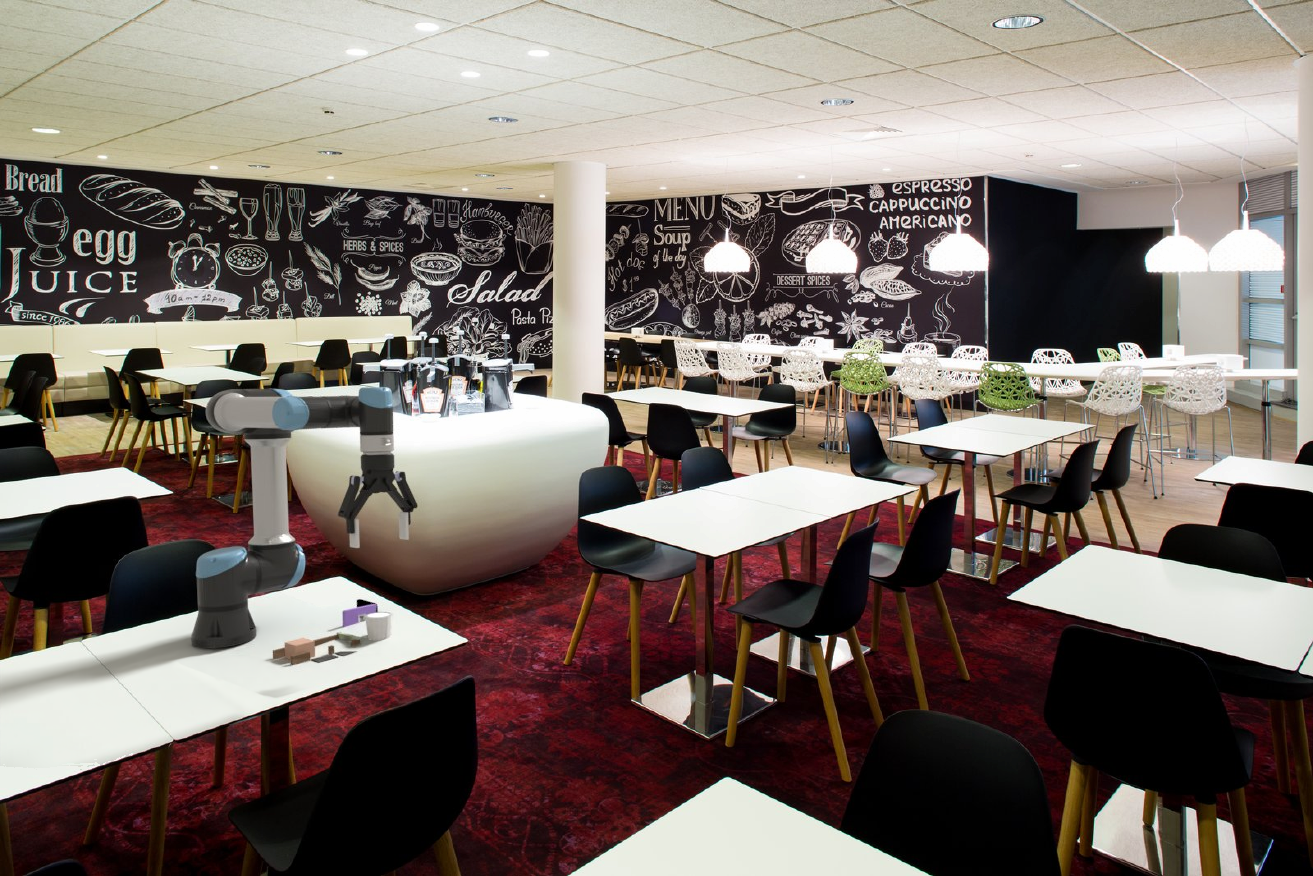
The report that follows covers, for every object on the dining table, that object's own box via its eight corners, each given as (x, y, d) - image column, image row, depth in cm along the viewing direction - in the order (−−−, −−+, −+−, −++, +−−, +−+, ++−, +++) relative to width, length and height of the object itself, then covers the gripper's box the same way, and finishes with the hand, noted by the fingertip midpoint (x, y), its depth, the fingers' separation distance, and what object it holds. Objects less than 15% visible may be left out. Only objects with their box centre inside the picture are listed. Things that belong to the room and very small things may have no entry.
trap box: (272, 658, 221) (272, 648, 221) (340, 641, 236) (339, 631, 236) (301, 667, 213) (300, 657, 213) (369, 649, 228) (368, 639, 228)
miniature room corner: (384, 628, 250) (383, 603, 249) (344, 637, 241) (343, 611, 240) (360, 621, 257) (360, 597, 257) (321, 629, 248) (320, 605, 248)
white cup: (385, 645, 231) (384, 618, 231) (360, 644, 233) (359, 617, 232) (398, 638, 238) (397, 612, 238) (374, 637, 239) (373, 611, 239)
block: (285, 658, 222) (284, 642, 221) (303, 653, 225) (303, 637, 225) (296, 662, 218) (295, 645, 218) (315, 657, 222) (314, 641, 222)
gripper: (339, 457, 200) (342, 552, 201) (430, 450, 220) (433, 537, 221) (320, 456, 205) (323, 549, 206) (411, 449, 224) (413, 534, 226)
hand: (380, 543), depth 213 cm, fingers open, 13 cm apart
